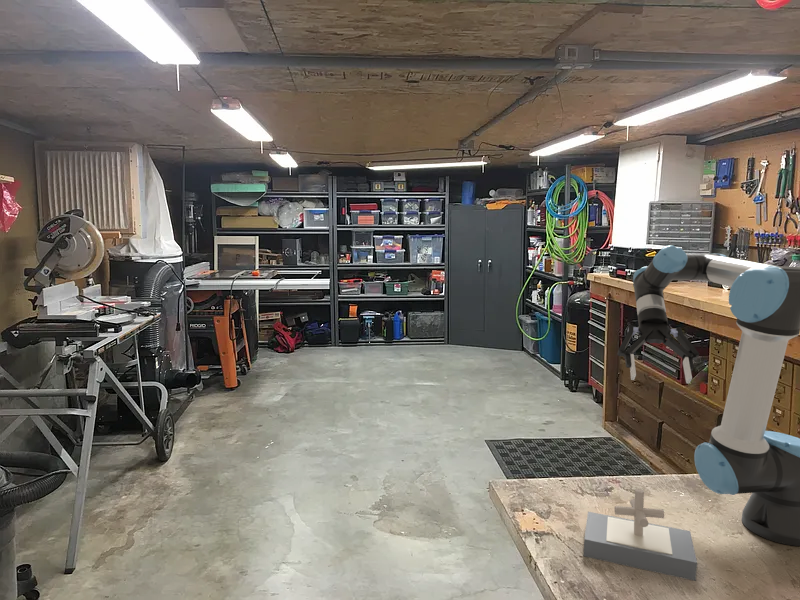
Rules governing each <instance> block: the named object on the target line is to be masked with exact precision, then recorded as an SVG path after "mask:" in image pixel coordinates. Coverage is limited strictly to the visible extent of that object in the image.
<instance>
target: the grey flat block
mask: <svg viewBox="0 0 800 600" xmlns="http://www.w3.org/2000/svg"><path fill="white" fill-rule="evenodd" d="M648 523H649V524H648V526H647V527H643V535H642V536H637V535H635V534H634V519H628V518H624V517H620V516H619V517H618V516H614V515H609V514H605V513H604V514H603V513H598V512H593V511H587V516H586V524H585V531H584V532H585V533H584V537H583V538H584V541H583V555H582V556H583V557H585V558H590V559H595V560H599V561H603V562H609V563H612V564H618V565H620V566H621V565H622V566H625V567H626V566H627V567H631V568H634V569H635V568H636V569H640V570H645V571H648V572H649V571H650V572H654V573H658V574H663V575H667V576H672V577H677V578H682V579H685V580H690V581H694V582H695V581H696V580H697V568H698V561H697V557H696V552H695V546H694V542H693V541H694V540H693V539H692V533H691V530H686V529H683V528H682V529H680V528H677V527H671V526H665V525H662V524H661V525H660V524H656V523H650V522H648Z"/></svg>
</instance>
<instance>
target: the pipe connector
mask: <svg viewBox="0 0 800 600" xmlns="http://www.w3.org/2000/svg"><path fill="white" fill-rule="evenodd" d="M644 499H645V491H644V489H642V488H635V489H634V498H631V499H630V501H629V503H630V506H622V505H614V514H615V515H618V516H629V517H632V516H633V517H634V518H633V520H634V534H635V535H637V536H642V535H643V527H647V526H648V524H649V523H650V522H649V520H648V518H658V519H664V518H665V512H664V511H665V510H664V509H661V508H651V507H650V508H648V507H644V506H645V505H644V503H645V502H644V501H645V500H644Z"/></svg>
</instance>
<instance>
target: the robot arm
mask: <svg viewBox="0 0 800 600" xmlns="http://www.w3.org/2000/svg"><path fill="white" fill-rule="evenodd" d="M632 277H633V280H632V284H633V286H632V287H633V290H634V297H635V298H634V299H635V303H636V304H635V305H636V312H637V313H636V314H637V321H638V327H637V326H634V325H633V324H629V325H628V328H627V330H626V331H627V333H626V335H625V337H624V339H623V341H622V342H621V344H620V346H619V348H618V350H617V356H619V357H623V359H624V361H625V362H624V363H625V367H626V368H629V370H630V371H629V372H630V380H631V381H635V379H636V376H637V371H636V363H635V355H634V354H635V352H636V351H637V350H638V349H639V348H640V347H641V346H643V345H644V344H645V343H646V342H647V343H649V344H659V345H660V344H663V345H664V346H666V347H669V348H670V349H671V350H672V351H673V352H674V353H675V354H676V355H678V356H679V357H681V359H683V360H682V367H683V373H684V379H685V384H689V385H690V383H691V381H692V380H693V376H692V372H693V371H694V361H697V360H698V358H699V356H700V353H699V351H698V350H697V348H696V347H695V346H694V345H693V344H692V342H691V341H690V340H689V339H688V338H687V336H686V335H685V334H684V332H683V330H682V329H683V328H682V327H681V326H677V327H676V328H670V326H669V322H668V315H667V309H666V305H665V303H666V302H665V297H664V290H665V289H666V288H667V287H668V286H669V285H670V284H671V283H672V281H706V282H709V283H713V284H714V283H715V284H718V285H723V286H726V287H730V290H729V292H728V293H729V294H728V304H729V305H731V306H730V308H729V309H730V312H731V314H732V315H733V316H734V317H735V318H736V321H735V322H736V323H735V324H736V325H737V327H738V328H739V329H740V331H741V336H740V339H739V340H740V341H739V344H738V349H737V353H736V358H735V361H734V366H733V371H732V375H731V378H730V379H731V380H730V384H729V388H728V393H727V396H726V400H725V405H724V410H723V414H722V418H721V423H720V425H718V426H715V427H714V428H712V429H711V432H710V438H709V441H708V442H705V441H704V442H703V443H700V444H699V445H697V446H696V447H695V450H694V460H693V461H694V465H695V468H696V471H697V474H698V476H699V478H700V481H702V482H703V484H704V485H705V487H706V488H708V489H709V490H711V491H712V492H713V493H714V494H715V493H716V494H718V495H730V496H734V495H738V494H739V495H741V494H750V497H749V498H748V500H747V502H746V503H745V505H744V507H743V509H742V512H741V522H742V524H743V526H744V527H746V528H747V529H748V530H749V531H751V532H752V533H753V534H756V535H757V536H759V537H762V538H764V539H766V540H769V541H772V542H775V543H779V544H783V545H786V546H787V545H788V546H796V547H800V438H799V437H796V436H793V435H790V434H787V433H783V432H779V431H777V432H776V431H772V430H767V425H768V421H769V417H770V414H771V409H772V407H773V406H772V405H773V402H774V398H775V393H776V390H777V386H778V382H779V378H780V374H781V370H782V367H783V363H784V359H785V355H786V351H787V348H788V344H789V341H790V340H791V339H794V338H795V337H798V336H799V335H800V266H799V265H798V266H778V265H773V264H766V263H763V262H762V263H761V262H755V261H751V260H745V259H741V258H740V259H739V258H733V257H730V256H729V257H728V256H727V255H725V254H723V253H712V252H711V253H686V252H685V250H683V249H682V248H681V247H677V246H675V245H673V244H672V245H665V246H663V247H662V248H661V249H660V250H659V251H658V253H657V254H656V253H655V255H654V257H653V259H652V260H651V261H650V263H649V265H648V266H643V267H641V268H640V269H637V270H636V271H635V272H634V273H633V276H632ZM636 333H638V334H639V336H640V337H639V338H638V339H636V340H635V342H633V344H632V345H631V346H630V347H628V345H629V343H630V341H631V340H632V337H633V336H634V335H636ZM672 335H673V336H672ZM674 338H675V339H676V340H675V339H674ZM627 347H628V348H627ZM626 349H627V350H626Z"/></svg>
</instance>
